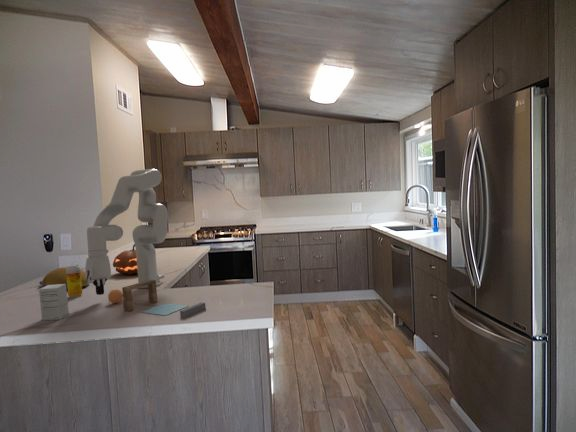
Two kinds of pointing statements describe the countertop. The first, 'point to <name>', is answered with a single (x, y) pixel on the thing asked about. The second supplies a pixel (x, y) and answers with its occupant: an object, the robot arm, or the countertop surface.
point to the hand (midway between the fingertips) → (100, 294)
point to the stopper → (192, 310)
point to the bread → (62, 277)
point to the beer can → (74, 281)
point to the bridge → (128, 290)
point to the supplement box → (53, 301)
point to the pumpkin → (126, 262)
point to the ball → (115, 296)
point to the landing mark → (165, 309)
